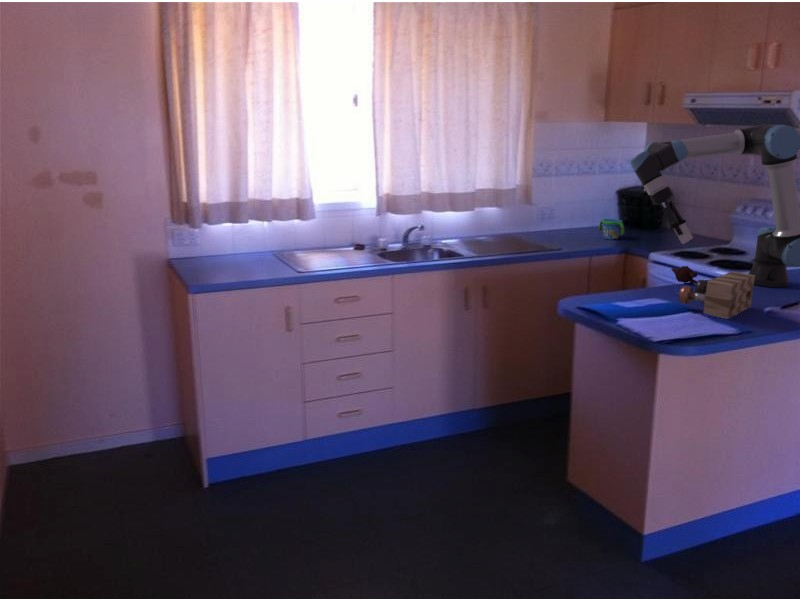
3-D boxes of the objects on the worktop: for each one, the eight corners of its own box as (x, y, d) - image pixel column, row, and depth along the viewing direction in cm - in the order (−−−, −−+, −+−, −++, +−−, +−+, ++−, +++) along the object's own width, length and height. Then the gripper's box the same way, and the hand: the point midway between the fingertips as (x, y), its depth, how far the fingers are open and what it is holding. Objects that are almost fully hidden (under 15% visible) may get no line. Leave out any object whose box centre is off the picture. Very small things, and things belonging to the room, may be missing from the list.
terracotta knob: (685, 300, 256) (687, 284, 254) (714, 306, 249) (716, 289, 247) (677, 304, 252) (679, 287, 250) (707, 309, 245) (709, 292, 243)
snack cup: (628, 240, 383) (630, 221, 380) (613, 242, 378) (615, 223, 375) (607, 235, 396) (609, 217, 393) (593, 237, 391) (594, 218, 389)
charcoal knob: (701, 294, 266) (702, 278, 264) (730, 299, 259) (732, 283, 257) (694, 296, 261) (696, 280, 260) (723, 302, 254) (725, 286, 253)
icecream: (663, 263, 296) (688, 274, 283) (678, 258, 298) (704, 269, 284) (664, 279, 299) (689, 290, 286) (679, 273, 300) (704, 284, 287)
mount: (726, 303, 261) (730, 271, 258) (750, 307, 255) (755, 275, 252) (701, 315, 246) (706, 281, 242) (726, 320, 240) (731, 285, 237)
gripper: (654, 195, 276) (682, 243, 274) (643, 197, 254) (674, 249, 252) (672, 185, 273) (701, 233, 270) (663, 185, 251) (694, 238, 249)
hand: (688, 241), depth 261 cm, fingers open, 13 cm apart
